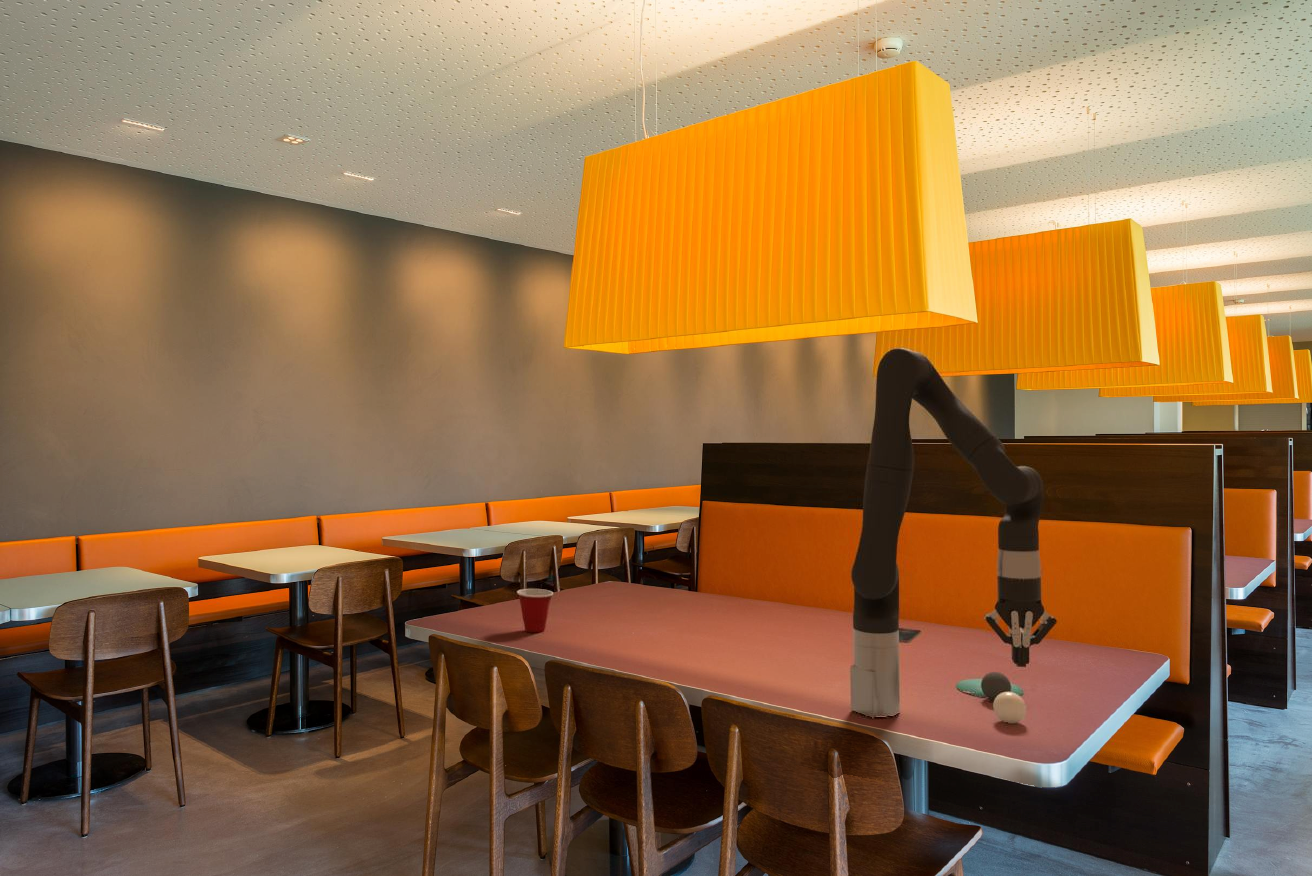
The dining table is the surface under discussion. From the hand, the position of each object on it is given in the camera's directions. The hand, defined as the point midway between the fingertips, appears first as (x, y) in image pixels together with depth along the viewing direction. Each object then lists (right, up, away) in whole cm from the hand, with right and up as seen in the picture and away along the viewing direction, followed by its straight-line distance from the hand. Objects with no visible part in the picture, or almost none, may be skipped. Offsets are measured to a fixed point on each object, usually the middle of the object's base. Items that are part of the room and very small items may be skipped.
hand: (1020, 665), depth 157 cm
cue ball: (+2, -11, +10) cm, 15 cm away
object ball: (+5, -11, +24) cm, 26 cm away
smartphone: (+2, -14, +81) cm, 83 cm away
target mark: (+7, -14, +31) cm, 35 cm away
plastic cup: (-104, -15, +93) cm, 141 cm away
